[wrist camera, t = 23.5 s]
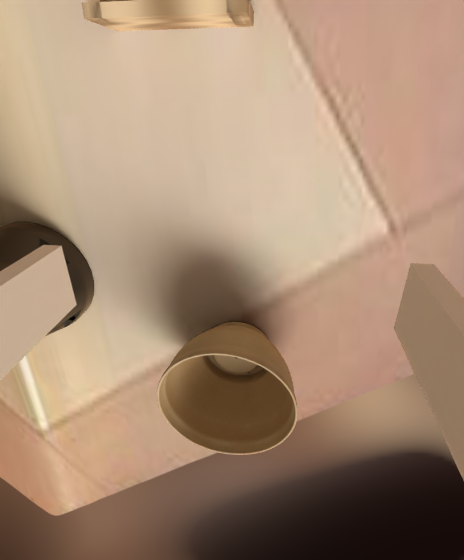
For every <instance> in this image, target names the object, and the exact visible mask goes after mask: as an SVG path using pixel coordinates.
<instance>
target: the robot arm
mask: <svg viewBox="0 0 464 560" xmlns="http://www.w3.org/2000/svg"><path fill="white" fill-rule="evenodd" d="M93 295H94V281H93V277H92V273H91V270H90V268H89V266H88V264H87V262H86V260H85V259H84V257H83V256H82V254H81V253H80V252H79V251H78V249H77V248H76V247H75V246H74V245H73V244H72V243H71V242H70V241H68V240H67V239H66V238H65V237H63V236H62V235H60V234H59V233H57V232H56V231H54V230H52V229H50V228H47V227H45V226H42V225H39V224H35V223H29V222H18V223H12V224H9V225H6V226H4V227H2V228H0V380H1V379H2V378H3V377H4V376H5V375H6V374H7V373H8V372H9V371H10V370H11V369H12V368H13V367H14V366H15V365H16V364H17V363H18V362H19V361H20V360H21V359H22V358H23V357H24V356H25V355H26V354H27V353H28V352H29V351H30V350H31V349H32V348H33V347H34V346H36V345H37V344H38V343H39V342H40V341H41V340H42V339H43V338H44V337H45V336H47V335H49V334H51V333H53V332H55V331H58V330H60V329H62V328H64V327H67V326H69V325H70V324H72V323H74V322H75V321H76V320H77V319H78V318H79V317H80V316H81V315H82V314H83V313H84V312H85V311H86V310H87V309H88V307H89V306H90V304H91V302H92V299H93ZM394 329H395V331H396V334H397V336H398V338H399V340H400V342H401V345H402V347H403V349H404V351H405V353H406V356H407V358H408V360H409V362H410V364H411V366H412V369H413V371H414V373H415V375H416V377H417V380H418V382H419V384H420V386H421V388H422V390H423V393H424V395H425V397H426V399H427V401H428V404H429V406H430V408H431V410H432V412H433V415H434V417H435V419H436V421H437V423H438V425H439V428H440V430H441V432H442V434H443V436H444V439H445V441H446V443H447V445H448V447H449V449H450V452H451V454H452V456H453V458H454V460H455V463H456V465H457V467H458V469H459V471H460V474H461V476H462V477H463V480H464V298H463V297H462V296H461V295H460V294H459V293H458V291H457V290H456V289H455V288H454V287H453V286H452V285H451V283H450V282H449V281H448V280H447V279H446V278H445V276H444V275H443V274H442V273H441V272H440V271H439V270H438V268H437V267H436V266H435V265H434V264H414V263H411V264H410V268H409V272H408V276H407V280H406V283H405V287H404V291H403V295H402V299H401V303H400V307H399V310H398V314H397V318H396V322H395V326H394Z"/></svg>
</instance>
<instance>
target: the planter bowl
mask: <svg viewBox="0 0 464 560" xmlns="http://www.w3.org/2000/svg"><path fill="white" fill-rule="evenodd" d="M157 401H158V406H159V409H160V411H161V413H162V415H163V417H164V418H165V420H166V421H167V422H168V424H169V425H170V426H171V427H172V428H173V429H174V430H175V431H176V432H177V433H178V434H179V435H181V436H182V437H183V438H185V439H186V440H188V441H190V442H191V443H193V444H195V445H197V446H200V447H202V448H205V449H208V450H211V451H214V452H219V453H225V454H236V455H241V454H243V455H245V454H255V453H260V452H263V451H267V450H269V449H271V448H273V447H275V446H277V445H279V444H280V443H281V442H283V441H284V440H285V439H286V438H287V437H288V436H289V435H290V433H291V432H292V430H293V429H294V427H295V424H296V420H297V402H296V398H295V394H294V387H293V382H292V378H291V375H290V372H289V369H288V367H287V365H286V363H285V361H284V359H283V357H282V356H281V354H280V353H279V351H278V350H277V349H276V347H275V346H274V345H273V344H272V343H271V342H270V341H269V340H268V338H267V337H266V336H265V335H264V333H262V332H261V331H260V330H259V329H257V328H256V327H254V326H252V325H249V324H246V323H242V322H227V323H223V324H220V325H218V326H216V327H215V328H213V329H210V330H207V331H205V332H203V333H201V334H199V335H198V336H196V337H195V338H193V339H192V340H190V341H189V342H188V343H187V344H186V345H185V346H184V347H183V348H182V349H181V350H180V351H179V352H178V354H177V355H176V356H175V358H174V359H173V361H172V362H171V364H170V366H169V367H168V368H167V369H166V371H165V372H164V374H163V376H162V378H161V380H160V382H159V385H158V389H157Z"/></svg>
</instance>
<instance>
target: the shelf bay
mask: <svg viewBox="0 0 464 560" xmlns="http://www.w3.org/2000/svg"><path fill="white" fill-rule="evenodd" d="M87 1H88V3H82V7H83V13H84V19H87V20H89V21H92V22H95V23H97V24H100V25H103V26H105V27H108V28H111V29H113V30H116V31H128V30H157V29H186V28H215V27H245V26H253V20H254V12H253V10H252V7H251V5H250V2H249V0H132V1H128V0H87Z"/></svg>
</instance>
